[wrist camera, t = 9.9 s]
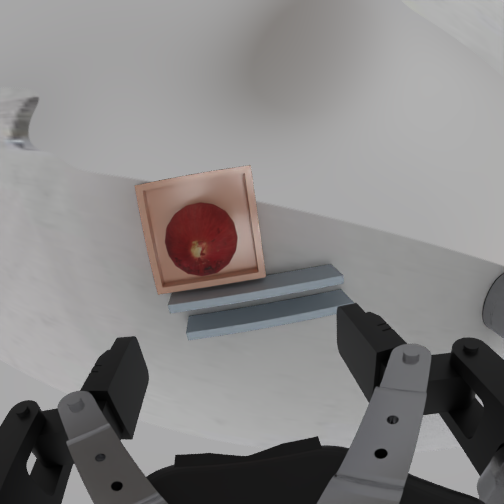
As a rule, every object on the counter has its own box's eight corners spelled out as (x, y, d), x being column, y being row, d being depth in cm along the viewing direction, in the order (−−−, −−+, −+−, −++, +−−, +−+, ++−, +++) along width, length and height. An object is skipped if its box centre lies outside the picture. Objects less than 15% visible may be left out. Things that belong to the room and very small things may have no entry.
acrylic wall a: (341, 289, 32) (353, 302, 29) (341, 296, 33) (353, 309, 29) (188, 316, 31) (186, 332, 28) (190, 322, 32) (188, 340, 28)
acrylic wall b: (330, 264, 32) (343, 275, 28) (331, 271, 32) (343, 283, 28) (172, 290, 30) (167, 305, 27) (174, 297, 31) (169, 313, 27)
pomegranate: (241, 252, 30) (249, 283, 22) (181, 267, 29) (169, 301, 22) (226, 191, 28) (230, 201, 20) (165, 207, 28) (145, 222, 20)
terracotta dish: (248, 165, 28) (250, 165, 26) (263, 271, 31) (266, 277, 29) (139, 184, 28) (134, 185, 26) (161, 287, 30) (158, 294, 29)
